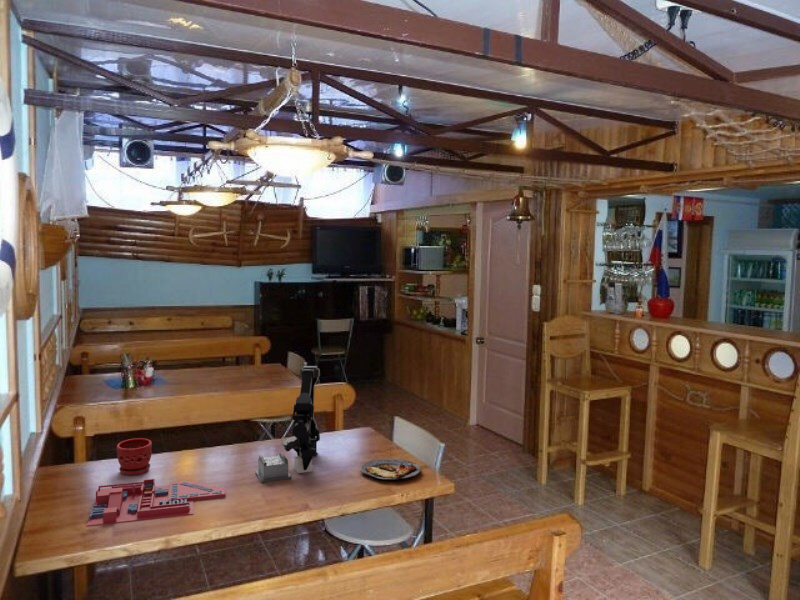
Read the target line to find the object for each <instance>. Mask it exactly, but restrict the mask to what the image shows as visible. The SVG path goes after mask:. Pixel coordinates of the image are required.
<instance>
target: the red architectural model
mask: <svg viewBox="0 0 800 600" xmlns="http://www.w3.org/2000/svg"><path fill="white" fill-rule="evenodd" d="M155 481H156V480H155V478H151V479H143V481H137V482H128V483H127V482H126V483H119V484H117V483H115V484H107V485H106V484H105V485H98V486H97V490H96V491H95V503H94V504H93V507H92V509H91V511H90V514H89V518H88V522H87V524H86V527H92V526H93V527H94V526H101V525H110V524H111V525H113V524H120V523H130V522H139V521H146V520H147V521H148V520H155V519H163V518H164V519H165V518H166V519H167V518H175V517H182V516H190V515H191V516H192V515H194V501H203V500H211V499H222V498H226V494H227V493H226V488H225V487H223V486H221V487H220V486H216V485H210V484H206V483H202V482H201V483H200V482H196V481H192V480H181V481H180V480H179V481H178V480H177V481H170V482H169V484H167V485H156V482H155Z"/></svg>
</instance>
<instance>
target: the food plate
mask: <svg viewBox="0 0 800 600" xmlns="http://www.w3.org/2000/svg"><path fill="white" fill-rule="evenodd" d="M359 469H360V471H361V474H362V473H363V474H365V475H368V476H371V477H374V478H376V479H380V480H386V481H391V480H392V481H396V480H397V481H398V480H405V479H407V478H411V477H415V476H417V475H419V474H420V472H421V471H422V468H421V466H420V465H418V464H417V463H416V462H412V461H409V460H407V459H402V458H386V457H385V458H377V459H371V460H369V461H366V462H364V463H362V464H361V466H360V467H359Z"/></svg>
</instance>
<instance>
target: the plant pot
mask: <svg viewBox="0 0 800 600" xmlns="http://www.w3.org/2000/svg"><path fill="white" fill-rule="evenodd" d="M129 446H131V447H129ZM135 447H136V448H135ZM152 447H153V445H152V440H150V439H148V438H142V437H140V438H139V437H138V438H130V439H125V440H122V441H120V442H119V443H118V444H117V445H116V457H117V460H118V464H119V465H120V466H119V468H118V469H119V472H120V473H122V474H123V475H128V476H134V475H135V476H136V475H141V474H143V473H145V472H148V471H149V469H150V468H151V463H150V461H151V458H152V453H153V451H152Z"/></svg>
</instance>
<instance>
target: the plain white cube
mask: <svg viewBox="0 0 800 600" xmlns="http://www.w3.org/2000/svg"><path fill="white" fill-rule="evenodd" d="M293 459H294V461H293V468H294V471H295V472H296V473H297V474H301V473H302V474H303V473H309V472H313V459H312V460H311V462H310V464H309V466H308V468H307V470H304V468H303V462H302V458H301V457H300V456H297V455H296V456H294V457H293Z"/></svg>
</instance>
